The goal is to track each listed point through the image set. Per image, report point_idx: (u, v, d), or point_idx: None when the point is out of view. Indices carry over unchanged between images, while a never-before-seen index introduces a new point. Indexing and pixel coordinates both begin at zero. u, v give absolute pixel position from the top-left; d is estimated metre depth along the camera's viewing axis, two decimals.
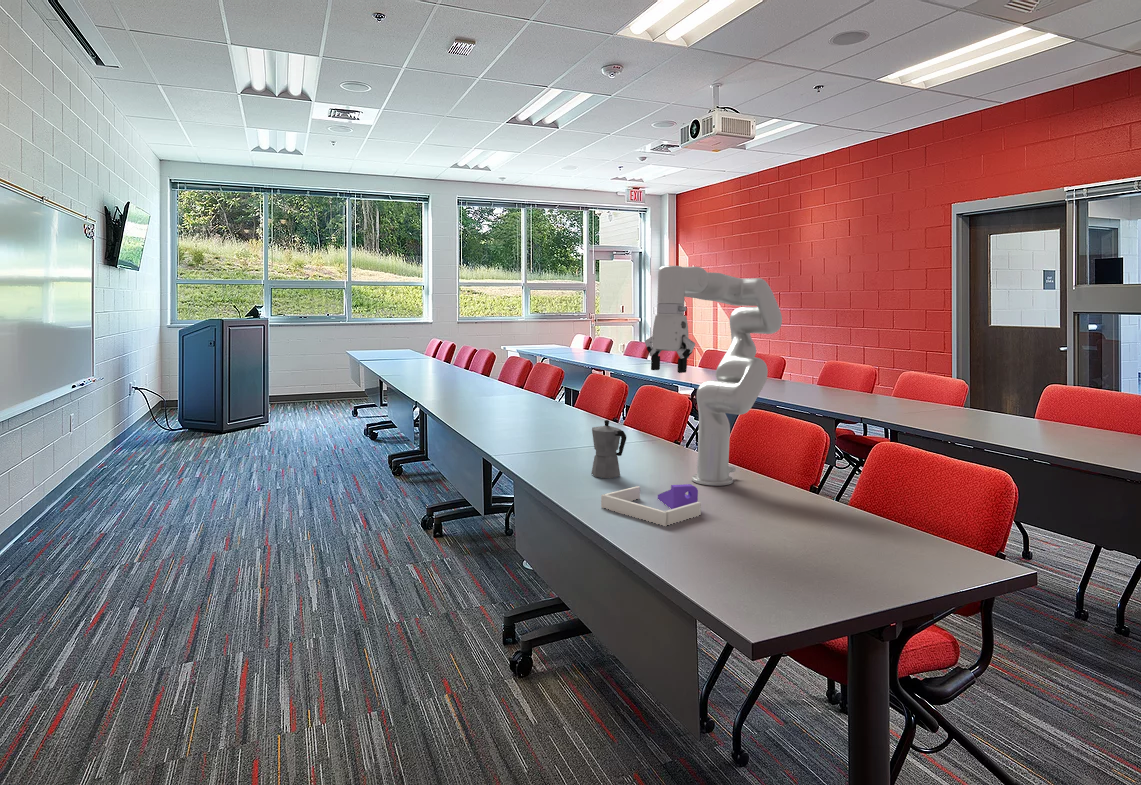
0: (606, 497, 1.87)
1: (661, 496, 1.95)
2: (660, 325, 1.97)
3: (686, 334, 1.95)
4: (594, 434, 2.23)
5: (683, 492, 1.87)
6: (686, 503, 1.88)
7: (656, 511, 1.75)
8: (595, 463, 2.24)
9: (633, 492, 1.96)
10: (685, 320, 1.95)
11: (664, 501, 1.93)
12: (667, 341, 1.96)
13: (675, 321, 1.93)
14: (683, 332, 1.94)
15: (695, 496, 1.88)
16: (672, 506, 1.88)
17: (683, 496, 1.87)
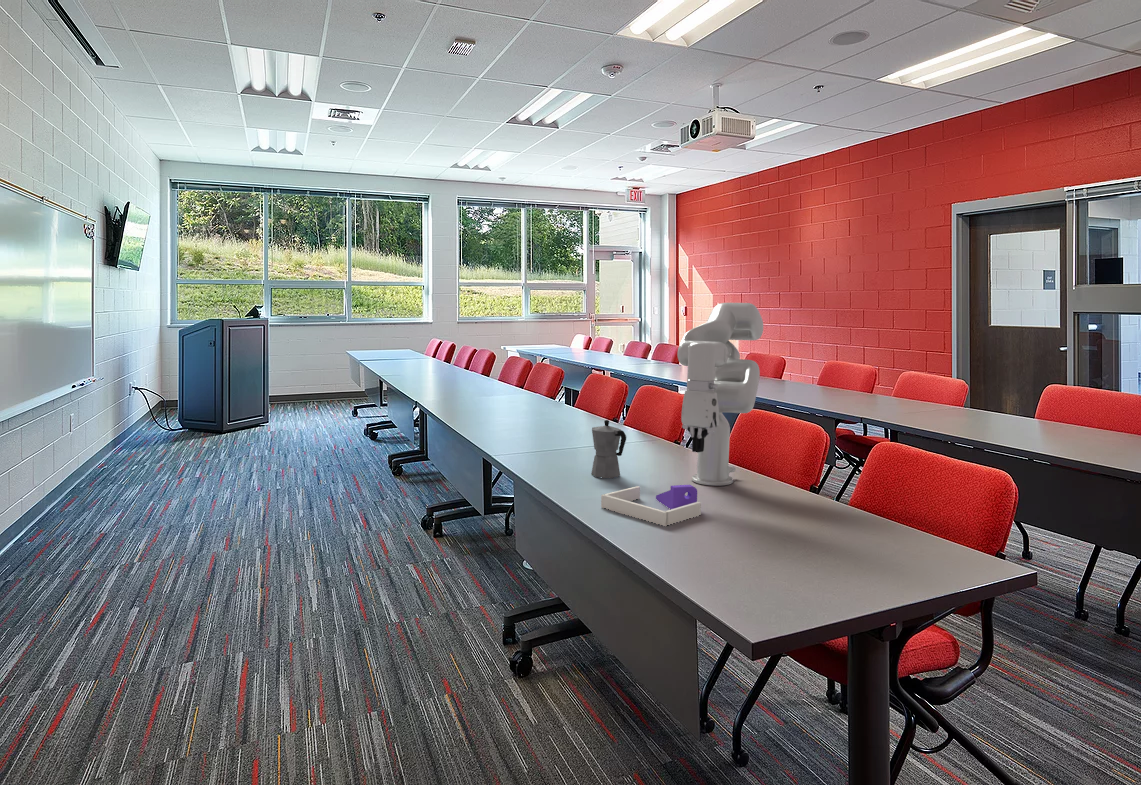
0: (606, 497, 1.87)
1: (660, 496, 1.95)
2: (690, 402, 1.95)
3: (717, 411, 1.94)
4: (594, 434, 2.23)
5: (683, 493, 1.86)
6: (686, 504, 1.87)
7: (656, 511, 1.75)
8: (595, 463, 2.24)
9: (633, 492, 1.96)
10: (716, 397, 1.93)
11: (663, 502, 1.93)
12: (697, 418, 1.94)
13: (706, 398, 1.92)
14: (714, 409, 1.93)
15: (695, 496, 1.88)
16: (671, 506, 1.87)
17: (683, 497, 1.87)
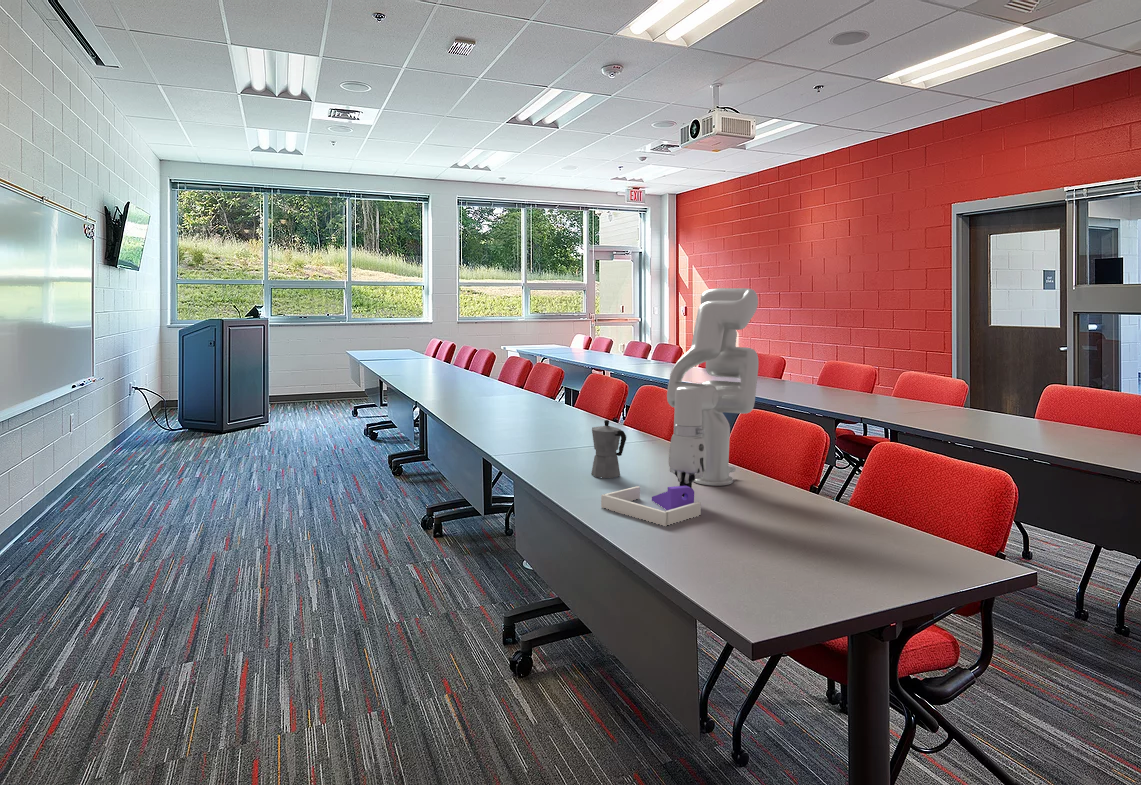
0: (606, 497, 1.87)
1: (656, 498, 1.94)
2: (677, 446, 1.93)
3: (704, 456, 1.92)
4: (594, 434, 2.23)
5: (680, 494, 1.86)
6: (683, 505, 1.86)
7: (656, 511, 1.75)
8: (595, 463, 2.24)
9: (633, 492, 1.96)
10: (703, 442, 1.91)
11: (659, 503, 1.91)
12: (684, 463, 1.92)
13: (693, 444, 1.90)
14: (701, 455, 1.91)
15: (692, 497, 1.87)
16: (668, 508, 1.86)
17: (680, 498, 1.86)
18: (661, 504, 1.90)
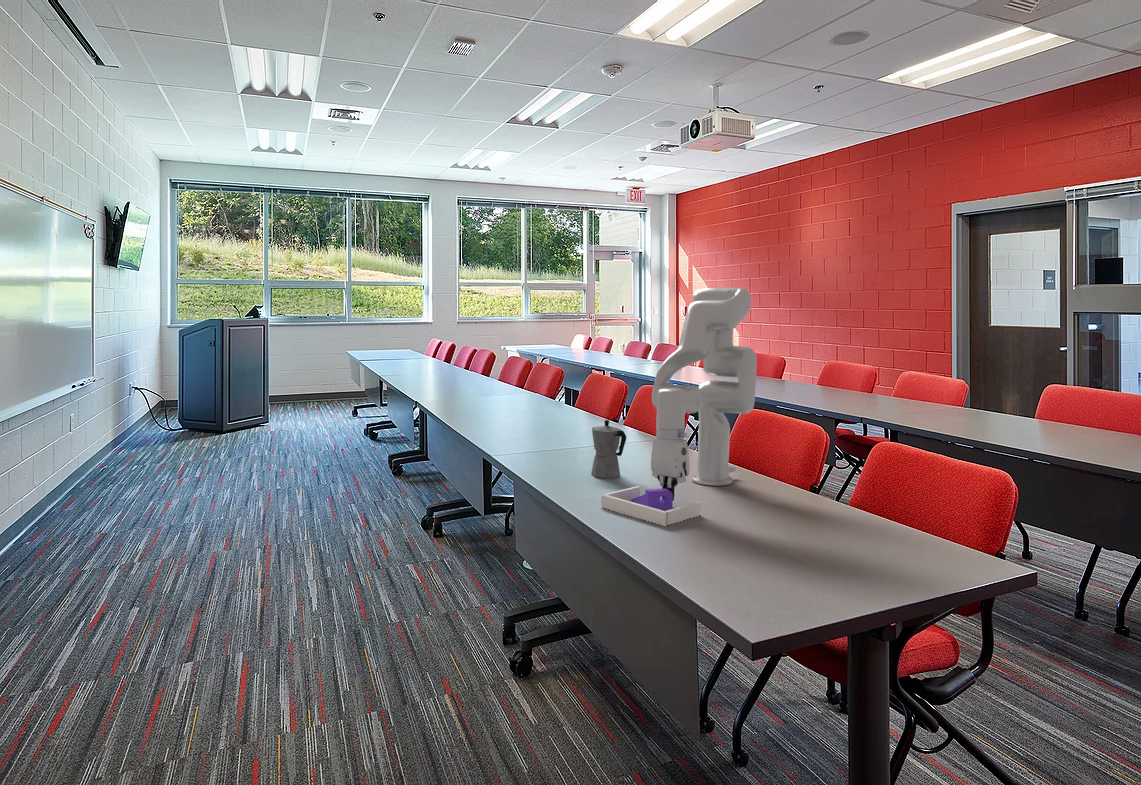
0: (606, 497, 1.87)
1: (635, 500, 1.90)
2: (659, 450, 1.88)
3: (686, 460, 1.87)
4: (594, 434, 2.23)
5: (658, 497, 1.82)
6: (661, 508, 1.83)
7: (656, 511, 1.75)
8: (595, 463, 2.24)
9: (633, 492, 1.96)
10: (685, 446, 1.86)
11: None
12: (667, 467, 1.87)
13: (675, 448, 1.85)
14: (683, 459, 1.86)
15: (670, 500, 1.84)
16: None
17: (658, 501, 1.82)
18: None
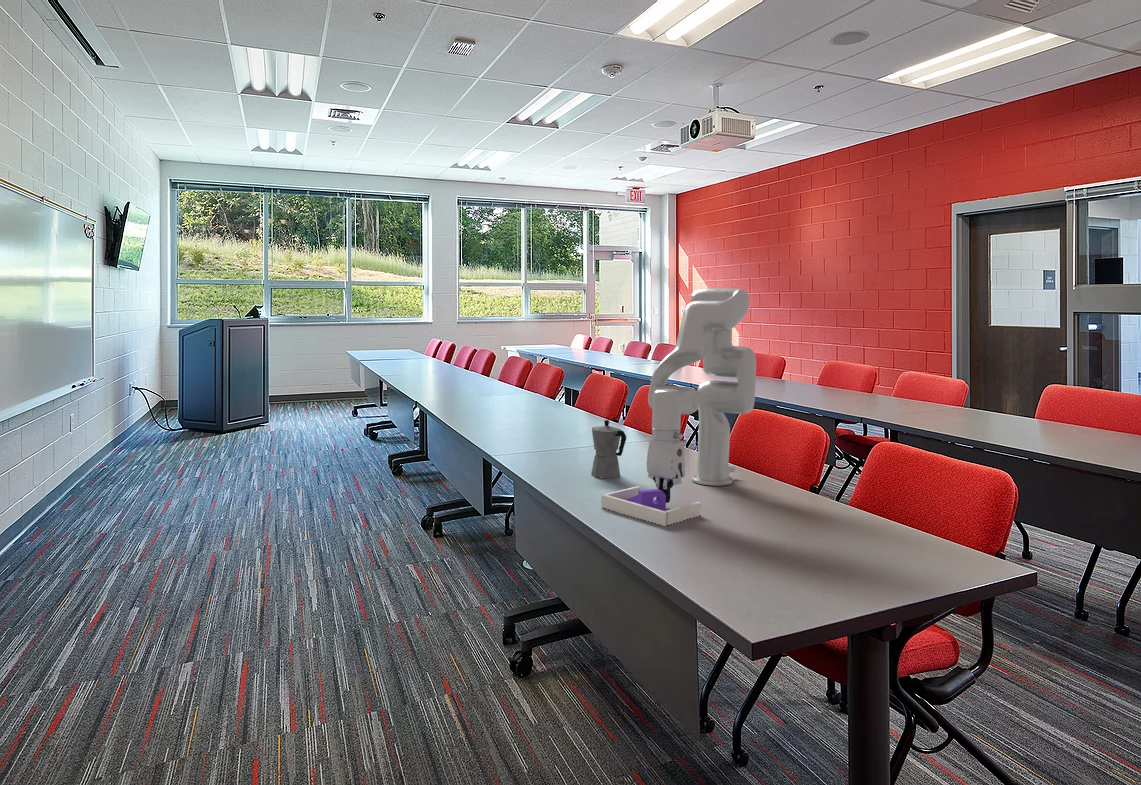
0: (606, 497, 1.87)
1: None
2: (655, 451, 1.87)
3: (682, 462, 1.85)
4: (594, 434, 2.23)
5: (651, 497, 1.81)
6: None
7: (656, 511, 1.75)
8: (595, 463, 2.24)
9: (633, 492, 1.96)
10: (681, 447, 1.85)
11: None
12: (662, 469, 1.86)
13: (671, 449, 1.84)
14: (679, 460, 1.84)
15: (663, 501, 1.82)
16: None
17: (651, 501, 1.81)
18: None
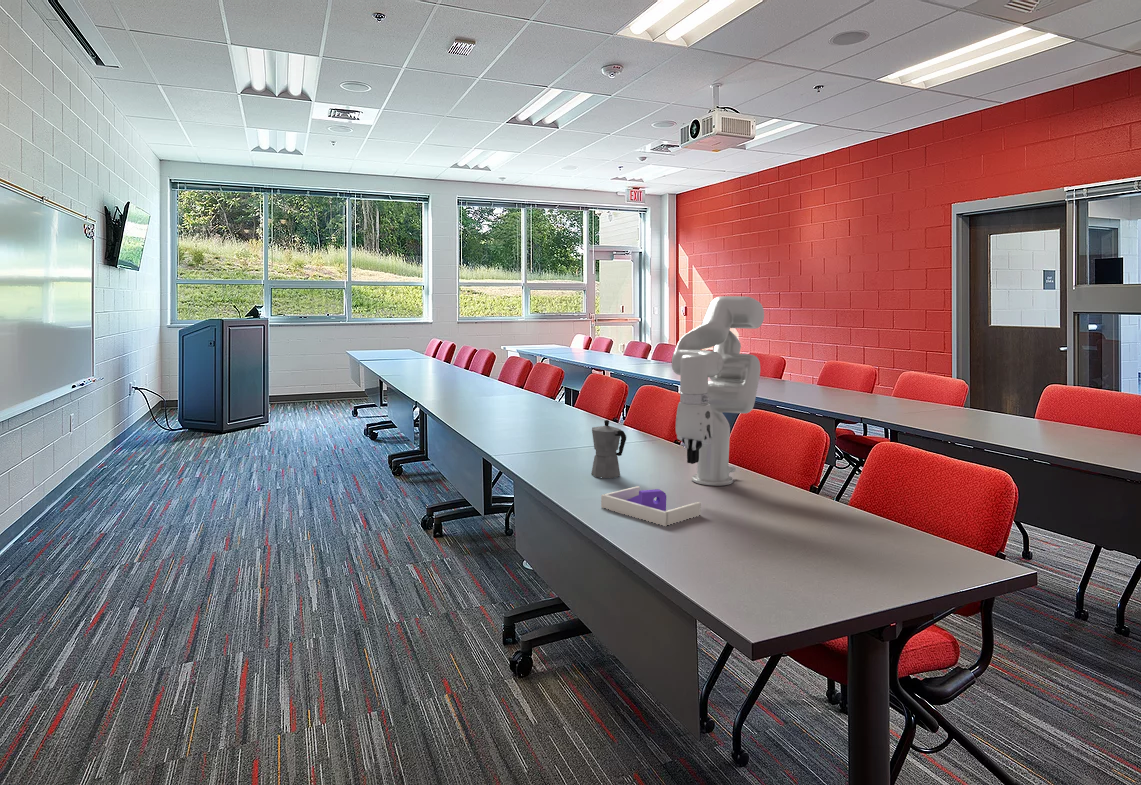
0: (606, 497, 1.87)
1: None
2: (684, 414, 1.95)
3: (710, 423, 1.93)
4: (594, 434, 2.23)
5: (651, 498, 1.81)
6: None
7: (656, 511, 1.75)
8: (595, 463, 2.24)
9: (633, 492, 1.96)
10: (709, 409, 1.92)
11: None
12: (691, 430, 1.94)
13: (699, 412, 1.91)
14: (707, 422, 1.92)
15: (664, 501, 1.82)
16: None
17: (651, 502, 1.81)
18: None
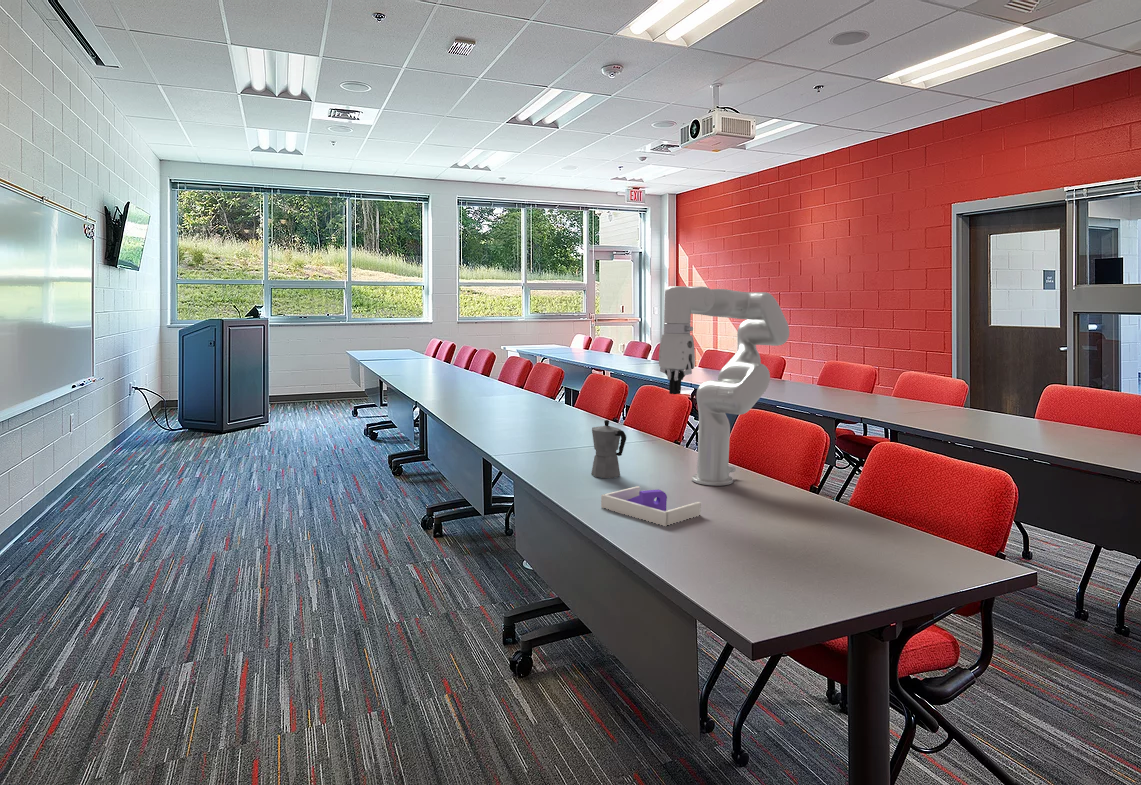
0: (606, 497, 1.87)
1: None
2: (667, 345, 2.00)
3: (692, 353, 1.99)
4: (594, 434, 2.23)
5: (652, 498, 1.81)
6: None
7: (656, 511, 1.75)
8: (595, 463, 2.24)
9: (633, 492, 1.96)
10: (691, 340, 1.98)
11: None
12: (674, 360, 1.99)
13: (682, 341, 1.97)
14: (690, 351, 1.98)
15: (664, 501, 1.82)
16: None
17: (652, 502, 1.81)
18: None
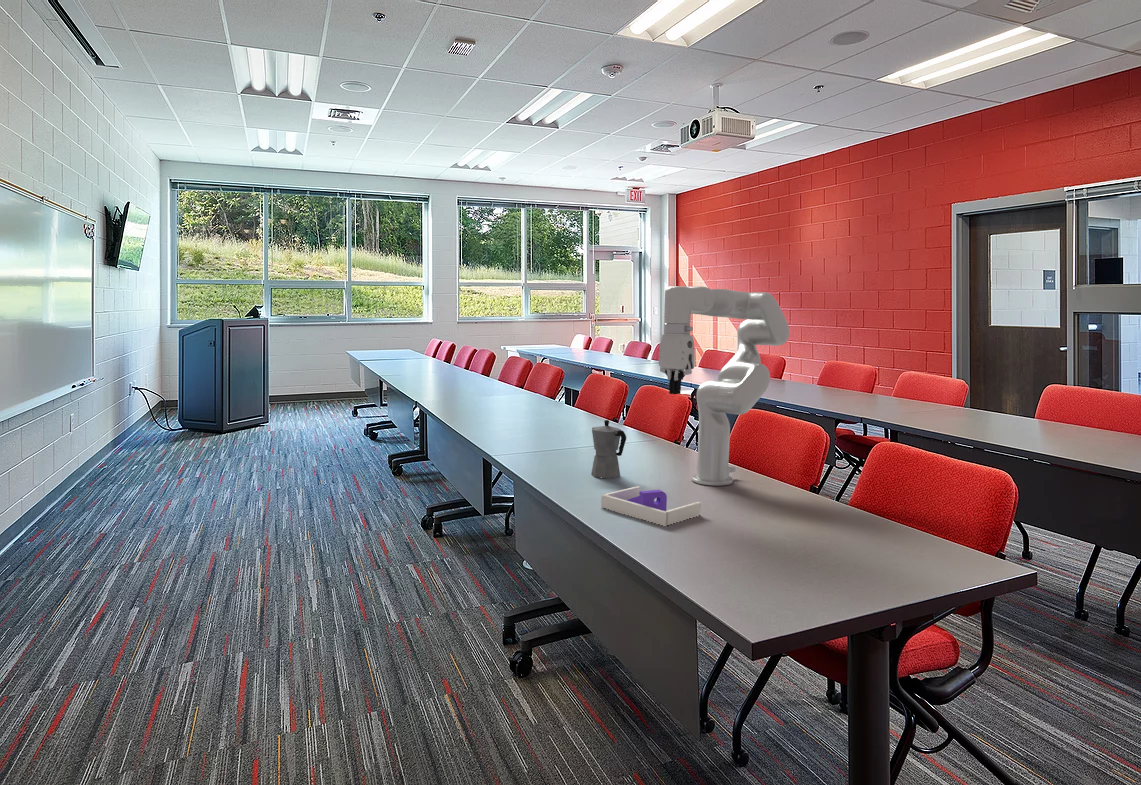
0: (606, 497, 1.87)
1: None
2: (667, 345, 2.00)
3: (692, 353, 1.99)
4: (594, 434, 2.23)
5: (652, 498, 1.81)
6: None
7: (656, 511, 1.75)
8: (595, 463, 2.24)
9: (633, 492, 1.96)
10: (691, 340, 1.98)
11: None
12: (674, 360, 1.99)
13: (682, 341, 1.97)
14: (689, 351, 1.98)
15: (664, 501, 1.82)
16: None
17: (652, 502, 1.81)
18: None
